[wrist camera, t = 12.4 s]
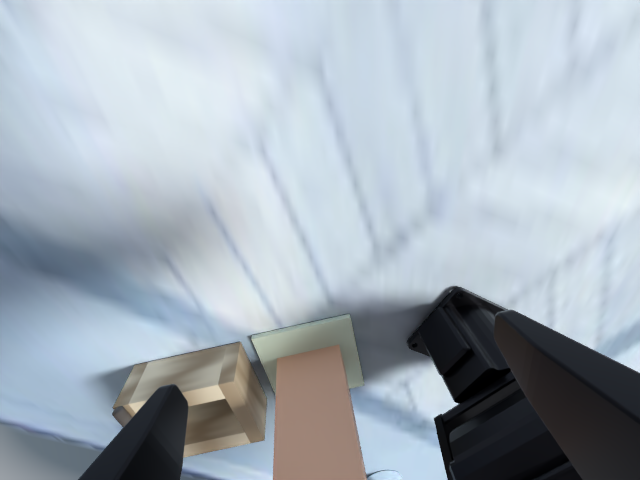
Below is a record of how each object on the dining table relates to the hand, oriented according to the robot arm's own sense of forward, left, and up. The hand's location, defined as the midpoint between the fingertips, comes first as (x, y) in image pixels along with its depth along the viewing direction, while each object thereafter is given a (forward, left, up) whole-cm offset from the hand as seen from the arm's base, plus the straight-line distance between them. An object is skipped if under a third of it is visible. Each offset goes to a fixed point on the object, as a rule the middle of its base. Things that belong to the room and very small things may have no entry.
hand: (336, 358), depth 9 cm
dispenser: (0, +18, -12) cm, 22 cm away
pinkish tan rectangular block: (-7, +12, -12) cm, 18 cm away
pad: (-7, +12, -12) cm, 18 cm away
